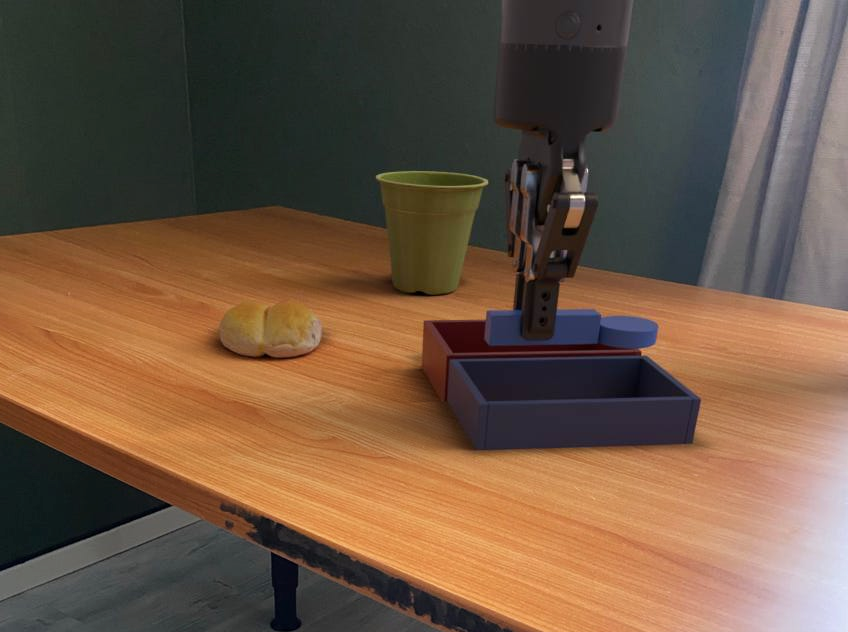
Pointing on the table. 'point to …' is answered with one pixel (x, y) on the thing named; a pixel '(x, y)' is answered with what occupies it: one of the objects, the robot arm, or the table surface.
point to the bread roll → (270, 329)
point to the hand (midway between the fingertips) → (531, 333)
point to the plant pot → (429, 227)
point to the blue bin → (570, 402)
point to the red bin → (488, 349)
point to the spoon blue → (574, 329)
